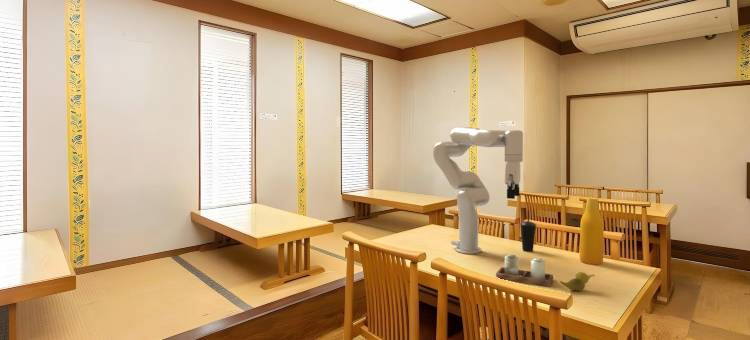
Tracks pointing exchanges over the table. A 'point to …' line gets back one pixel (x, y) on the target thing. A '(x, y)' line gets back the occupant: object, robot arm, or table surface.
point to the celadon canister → (538, 268)
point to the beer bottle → (591, 234)
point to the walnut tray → (520, 273)
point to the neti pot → (577, 281)
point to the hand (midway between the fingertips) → (513, 197)
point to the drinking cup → (528, 235)
